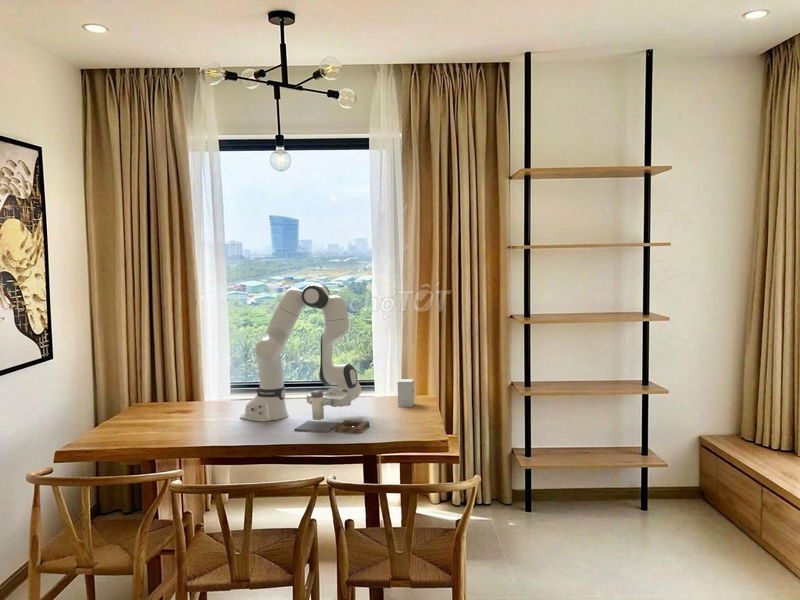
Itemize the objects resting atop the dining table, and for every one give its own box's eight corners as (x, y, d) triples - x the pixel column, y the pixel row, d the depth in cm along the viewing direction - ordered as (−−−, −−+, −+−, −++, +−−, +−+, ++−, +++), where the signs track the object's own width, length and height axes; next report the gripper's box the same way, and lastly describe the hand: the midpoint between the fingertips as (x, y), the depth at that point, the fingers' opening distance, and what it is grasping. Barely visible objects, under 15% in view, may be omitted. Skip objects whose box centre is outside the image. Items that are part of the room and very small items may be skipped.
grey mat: (294, 430, 275) (294, 428, 275) (308, 422, 288) (308, 420, 288) (328, 432, 270) (328, 431, 270) (340, 424, 284) (340, 422, 284)
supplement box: (412, 407, 312) (411, 381, 311) (397, 406, 313) (397, 381, 312) (415, 403, 319) (414, 378, 318) (400, 403, 321) (399, 378, 320)
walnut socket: (334, 431, 272) (334, 427, 272) (345, 424, 283) (344, 420, 283) (360, 433, 268) (360, 428, 268) (369, 426, 279) (369, 421, 279)
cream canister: (310, 419, 277) (309, 392, 276) (315, 416, 282) (314, 390, 281) (321, 420, 276) (320, 393, 275) (326, 417, 281) (324, 390, 280)
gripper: (317, 388, 295) (297, 394, 283) (353, 391, 284) (334, 398, 272) (318, 401, 295) (298, 408, 283) (353, 405, 284) (334, 412, 273)
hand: (316, 403), depth 278 cm, fingers closed on cream canister, 5 cm apart
